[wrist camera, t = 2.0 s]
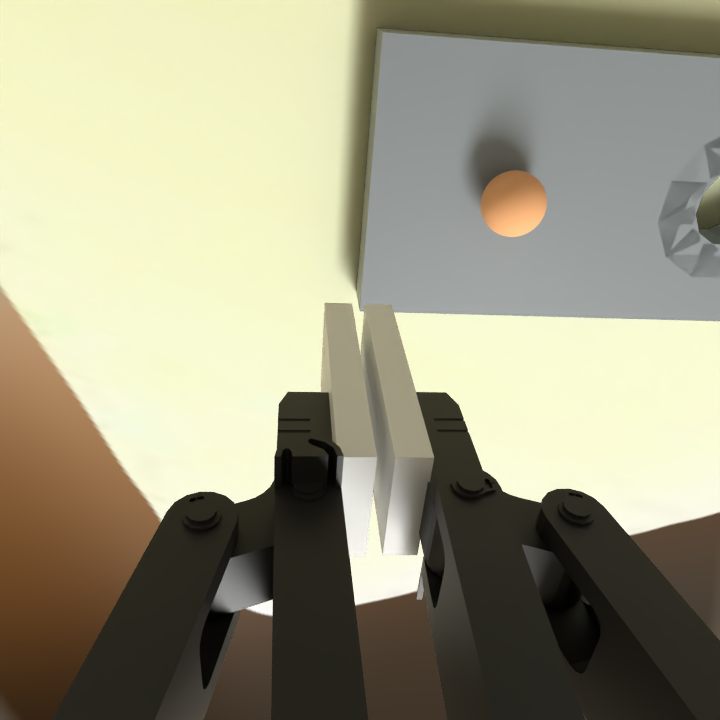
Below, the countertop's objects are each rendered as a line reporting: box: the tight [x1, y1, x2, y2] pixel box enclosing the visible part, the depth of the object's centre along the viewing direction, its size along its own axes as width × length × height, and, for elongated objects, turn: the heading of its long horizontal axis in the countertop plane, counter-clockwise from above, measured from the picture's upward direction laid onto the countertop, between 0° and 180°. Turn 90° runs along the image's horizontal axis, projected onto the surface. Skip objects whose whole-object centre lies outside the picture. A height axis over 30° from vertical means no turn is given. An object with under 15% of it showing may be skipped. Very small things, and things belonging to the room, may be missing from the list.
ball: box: [481, 170, 547, 237], centre depth 31 cm, size 3×3×3 cm
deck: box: [356, 28, 720, 321], centre depth 34 cm, size 28×14×2 cm, turn 86°
